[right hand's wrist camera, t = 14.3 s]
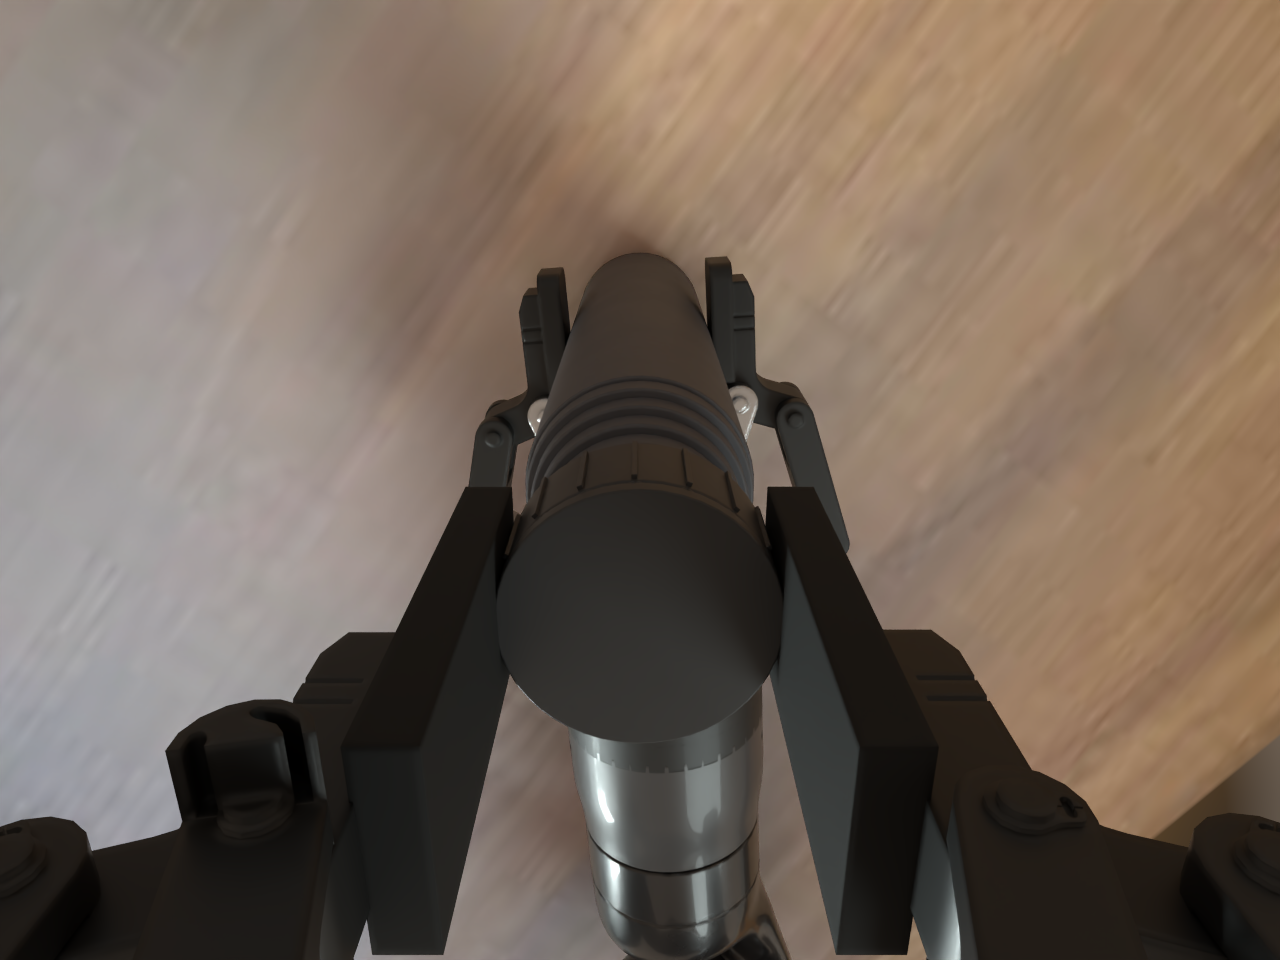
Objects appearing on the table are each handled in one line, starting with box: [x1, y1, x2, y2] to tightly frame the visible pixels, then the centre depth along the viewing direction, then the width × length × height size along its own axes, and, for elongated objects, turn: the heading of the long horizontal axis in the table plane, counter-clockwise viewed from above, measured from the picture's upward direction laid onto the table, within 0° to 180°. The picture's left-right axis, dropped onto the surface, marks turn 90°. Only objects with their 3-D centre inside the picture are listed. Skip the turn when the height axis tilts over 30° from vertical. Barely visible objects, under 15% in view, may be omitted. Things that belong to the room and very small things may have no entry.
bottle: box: [525, 253, 754, 504], centre depth 24 cm, size 5×5×23 cm
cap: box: [496, 441, 783, 743], centre depth 14 cm, size 4×4×2 cm
